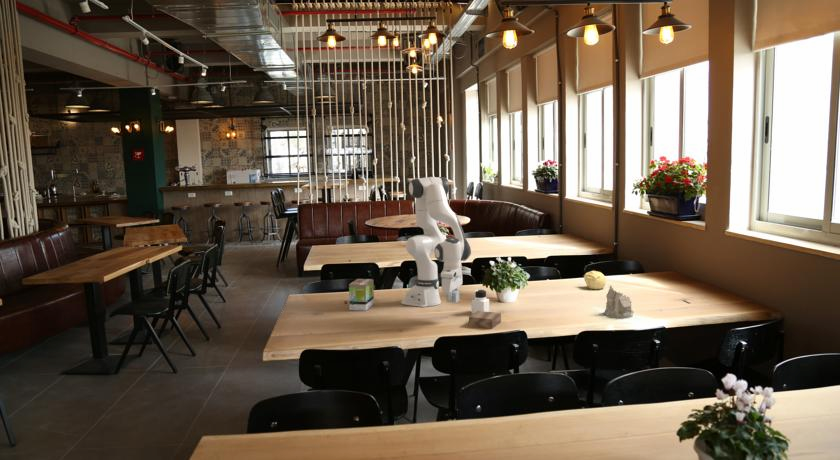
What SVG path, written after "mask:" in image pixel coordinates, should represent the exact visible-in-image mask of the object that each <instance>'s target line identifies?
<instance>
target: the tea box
mask: <svg viewBox="0 0 840 460" xmlns="http://www.w3.org/2000/svg"><path fill="white" fill-rule="evenodd" d="M374 289H375V288H374V279H373V278H356V279H354V281H352V282H351V283H349V284H348V290H349V291H348V293H349V294H348V295H349V297H348V298H349V300H348V301H349V310H350V311H365V312H366V311H367V310H369V309H370V308H371V307H372V306H373V305H374V304H375V299H374V298H375V293H374V292H375V291H374Z"/></svg>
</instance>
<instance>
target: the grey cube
mask: <svg viewBox="0 0 840 460" xmlns="http://www.w3.org/2000/svg"><path fill="white" fill-rule="evenodd" d="M445 294H446V296H445V299H446V303H452V304H453V303H454V304H456V303H458V302H460V290H458V291H456V290H454V291H452V296H453V299H452V300H449V299H448V294H447V293H445Z"/></svg>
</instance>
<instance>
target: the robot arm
mask: <svg viewBox="0 0 840 460" xmlns="http://www.w3.org/2000/svg"><path fill="white" fill-rule="evenodd" d="M408 191H409V195H410V196H411V197H412V198H413V199H415V204H414V205H415V206H414V207H415V208H414V209H415V210H414V211H415V223H416V224H415V225H417V226H418V227H419V228H421V229H422V230H423V234H420V235H419V234H418V235H414V236H411V237H409V238H408V239H407V240H406V242H405V249H406V252H407V253H408V254H409V255H410V256H412V258H413V259H414V260H415V263H416V268H417V278H415V279H414V281H413V282H414V284H415V285H413V286H412V287H410V288H409V290H407V291H406V293H405V295H404V296H405V297H404V298H403V299H402V300H401V303H400V304H401V305H406V306H411V307H420V308H425V307H431V306H432V307H433V306H437V305H441V304H442V301H441V296H440V293H439V290H440V289H439V286H440V281H439V276H438V275H439V274H438V264H437V263H436V262H435V261H434V260H432V259H431V257H430V255H431V254H434V257H435V259H436V260H438V261H439V262H443V268H442V271H441V272H440V277H441V291H442V293H443V294H446V293H447V294H448V299H449V300H452V299H453V296H452V291H454V290H456V291H459V287H461V286H462V285H463V272H462V271H463V270H462V268H463V267H462V262H465V261H467V260H468V259H469V258H470V257H471V254H472V249H471V246H470V244H469V242H468V240H467V238H466V235H465V232H464V229H463V227H462V224H461V221H460V220H459V216H458V215H457V213H456V212H454V211H453V210H452V208H451V207H450V205H449V201H448V197H447V194H449V192H450V182H449V180H448V179H447V177H444V176H438V177H436V176H428V177H421V178H417V177H416V178H414V179H411V180H410V182H409V184H408ZM437 222H440V223H443V224H445V225H448V226H449V227H450V228H451V230H452V232H453V235H454V237H447V236H446V235H445V234H444V233H442V232H441V231H440V228H439V227H438V224H437Z"/></svg>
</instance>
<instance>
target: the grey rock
mask: <svg viewBox="0 0 840 460" xmlns="http://www.w3.org/2000/svg"><path fill="white" fill-rule="evenodd" d="M605 297H606V302H605V309H604V314H605V315H607V316H610V317H611V318H616V319H625V320H626V319H630V318H633V316H634V312H635V311H634V310H633V309H632V300H631V298H630V297H629V296H627V295H624V294H623V292H621V291H617V290H614V288H613V285H609V289H608V292H607V294H606V296H605Z"/></svg>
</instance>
